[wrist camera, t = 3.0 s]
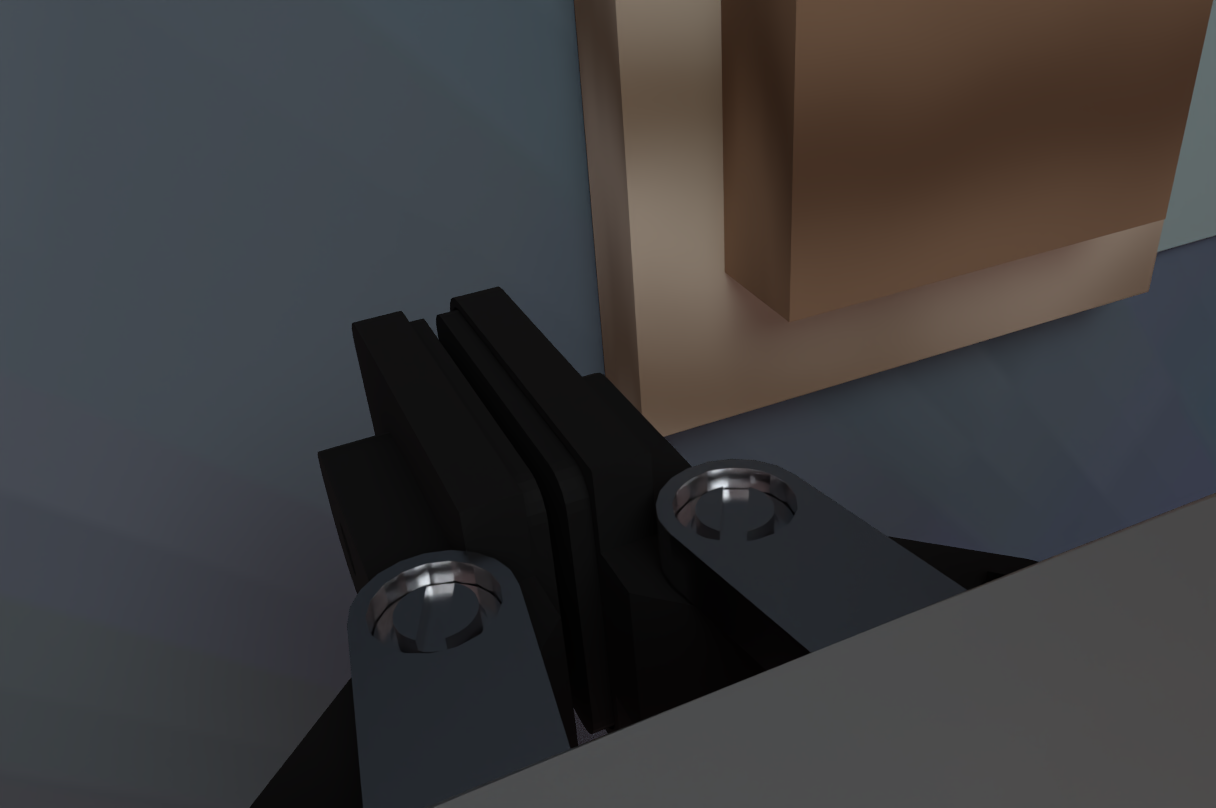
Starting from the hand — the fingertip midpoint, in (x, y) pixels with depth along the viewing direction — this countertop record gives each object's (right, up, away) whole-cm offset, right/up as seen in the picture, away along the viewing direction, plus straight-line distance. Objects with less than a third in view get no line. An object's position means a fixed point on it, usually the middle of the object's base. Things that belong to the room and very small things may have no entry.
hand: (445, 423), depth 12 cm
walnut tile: (+8, +7, +9) cm, 14 cm away
